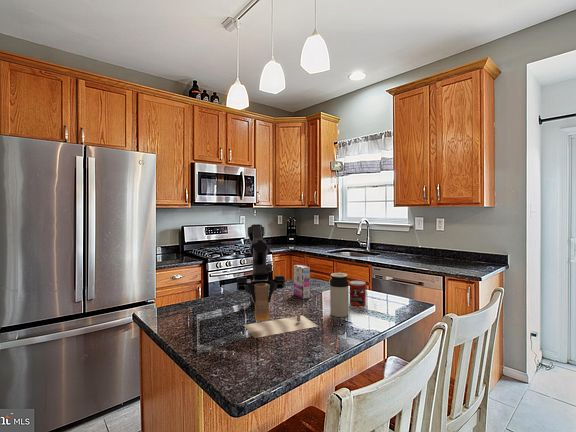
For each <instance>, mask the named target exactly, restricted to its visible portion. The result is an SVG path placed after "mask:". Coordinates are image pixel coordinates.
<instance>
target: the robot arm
mask: <svg viewBox="0 0 576 432" xmlns="http://www.w3.org/2000/svg"><path fill="white" fill-rule="evenodd" d="M265 235H266V234H265V226H262V224H261V223H260V224H257V223H256V224H255V223H253V224H251V225H250V226H249V227H247V237H248V241H249V243H250V245H249V254H250V255H251V256H252V275H251V276H250V277H249V279H248V277H247V276H241V277H240V276H239V277H237V278H236V291H244V292H245V293H248V295H249V297H250V303H249V305H248V307H249V308H254V309H255V289H254V285H255V284H257V283H267V284H268V285H269V304H270V303H271V300H272V297H273V294H274V292H275V291H277V290H279V289H284V288H285V285H286V278H285V276H284V275H274V278H273V279H269V273H272V272H273V263H272V262H269V263H268V262H267V259H268V254H269V252H270V251H271V249H270V247H269V246H268V244H267V242H266V240H265V239H264V237H265Z"/></svg>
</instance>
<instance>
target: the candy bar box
mask: <svg viewBox="0 0 576 432" xmlns="http://www.w3.org/2000/svg"><path fill="white" fill-rule="evenodd" d="M293 295H294V296H296V297H298V298H300V299H301V300H305V299H311V267H309V266H306V265H304V264H303V265H302V264H295V265H293Z"/></svg>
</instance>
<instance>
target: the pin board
mask: <svg viewBox="0 0 576 432" xmlns="http://www.w3.org/2000/svg"><path fill="white" fill-rule="evenodd" d="M243 326H244V327H245V328H246V329H247V331H248V332H249V333H250V334H251V335H252V337H253V338H254V339H257V338H262V337H268V336H274V335H279V334H284V333H289V332H294V331H301V330H306V329H310V328H311V329H312V328H317V327H319V325H318V324H316V323H315V322H313V321H312V320H310V319H309V318H307V317H305V316H304V315H303V314H302V315H301V314H300V313H297V314H296V316H292V317H286V318H285V317H283V318H279V319H273V320H265V321H259V322H254V323H250V324H249V323H248V324H243Z"/></svg>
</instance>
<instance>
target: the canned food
mask: <svg viewBox="0 0 576 432" xmlns="http://www.w3.org/2000/svg"><path fill="white" fill-rule="evenodd" d="M366 292H367V283H366V282H365V280H364V281H362V280H351V281H349V305H350V306H352V307H356V308H361V307H362V308H363V307H365V306H367V305H366V304H367V293H366Z"/></svg>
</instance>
